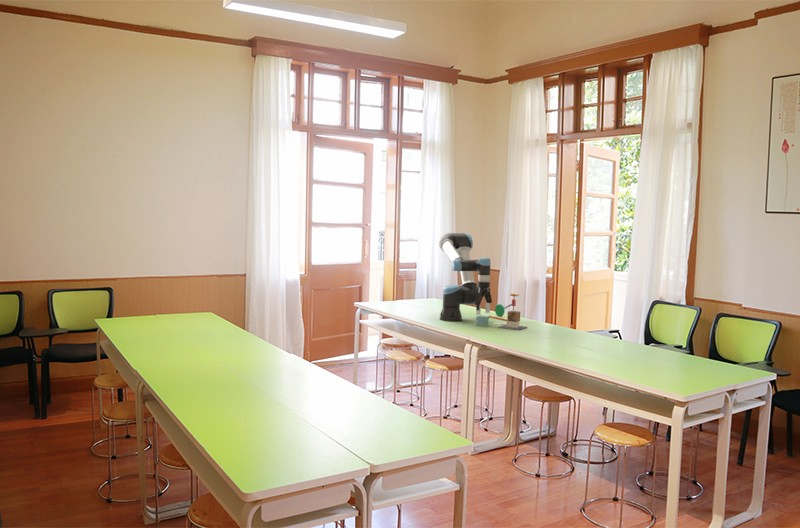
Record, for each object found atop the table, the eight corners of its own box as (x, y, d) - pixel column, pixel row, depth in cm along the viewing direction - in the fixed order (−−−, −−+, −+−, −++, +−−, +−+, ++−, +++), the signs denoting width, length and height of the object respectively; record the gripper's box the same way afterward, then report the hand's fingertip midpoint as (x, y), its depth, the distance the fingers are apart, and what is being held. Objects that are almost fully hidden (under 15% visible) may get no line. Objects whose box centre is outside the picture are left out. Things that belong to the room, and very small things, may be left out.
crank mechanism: (520, 322, 450) (521, 294, 449) (513, 322, 447) (514, 294, 445) (494, 316, 471) (495, 289, 469) (488, 317, 467) (489, 290, 465)
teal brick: (476, 325, 432) (476, 316, 432) (480, 324, 437) (480, 315, 437) (484, 326, 429) (484, 317, 428) (488, 325, 434) (488, 316, 434)
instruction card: (493, 324, 438) (493, 323, 438) (498, 323, 444) (498, 322, 444) (507, 326, 432) (507, 325, 432) (511, 324, 438) (511, 324, 438)
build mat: (498, 327, 426) (498, 320, 425) (507, 324, 437) (507, 318, 437) (518, 330, 418) (518, 323, 418) (527, 327, 430) (527, 320, 429)
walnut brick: (507, 320, 427) (507, 311, 426) (510, 319, 431) (511, 310, 431) (516, 321, 423) (516, 312, 423) (519, 320, 428) (520, 311, 427)
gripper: (480, 283, 418) (479, 316, 420) (497, 280, 439) (496, 312, 440) (469, 282, 422) (468, 315, 424) (487, 279, 443) (486, 311, 444)
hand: (483, 313), depth 432 cm, fingers open, 13 cm apart
